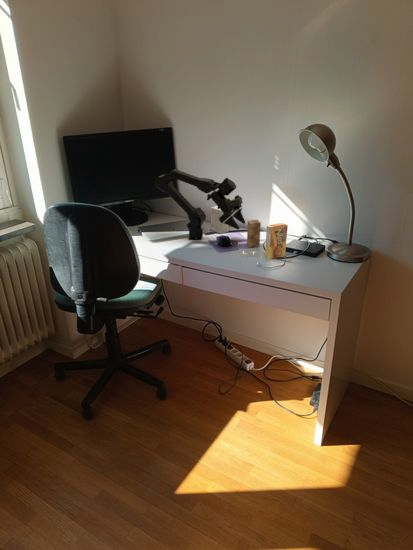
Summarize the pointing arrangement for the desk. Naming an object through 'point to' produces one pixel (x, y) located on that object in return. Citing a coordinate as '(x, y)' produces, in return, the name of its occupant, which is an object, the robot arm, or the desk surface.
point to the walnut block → (253, 233)
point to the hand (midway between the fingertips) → (241, 226)
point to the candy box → (276, 240)
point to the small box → (217, 221)
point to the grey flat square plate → (249, 253)
